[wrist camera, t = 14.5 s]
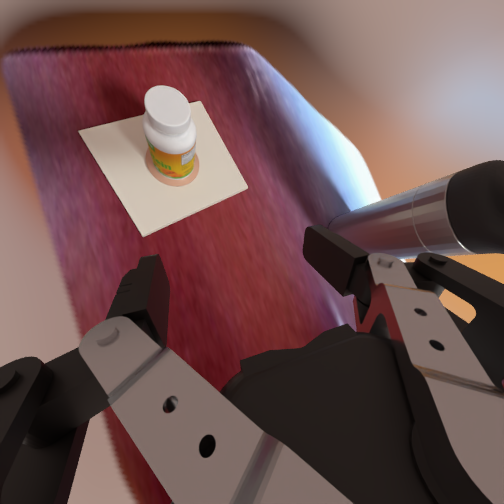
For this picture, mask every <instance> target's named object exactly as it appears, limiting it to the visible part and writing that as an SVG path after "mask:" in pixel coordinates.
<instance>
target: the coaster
mask: <svg viewBox="0 0 504 504" xmlns="http://www.w3.org/2000/svg"><path fill="white" fill-rule="evenodd" d="M146 164H147V167H148V169H149V171H150V173H151V174H152V175H153V176H154V177H155V178H156V179H157V180H158V181H160V182H162V183H163V184H166V185H169V186H176V187H178V186H184V185H187V184H189V183H191V182H192V181H193V180H194V179H195V178H196V176H197V175H198V172H199V159H198V156H197V154H196V152H195V162H194V168H193V171H192V173H191V174H190V175H189V176H188V177H186V178H184V179H180V180H173V179H169V178H166V177H164V176H163V175H161V174H160V173H159V172H158V171H157V169H156V168H155V166H154V164H153V161H152V157H151V154H150V150H149V147H148V149H147V152H146Z"/></svg>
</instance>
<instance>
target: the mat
mask: <svg viewBox="0 0 504 504" xmlns="http://www.w3.org/2000/svg"><path fill="white" fill-rule="evenodd" d="M189 105H190V109H191V118H192V119H193V121H194V123H195V126H196V133H197V137H196V149H195V152H196V154H197V156H198V159H199V172H198V175H197V176H196V178H195V179H194V180H193V181H192V182H191V183H189V184H187V185H184V186H178V187H176V186H169V185H166V184H163V183H162V182H160V181H158V180H157V179H156V178H155V177H154V176H153V175H152V174H151V173H150V171H149V169H148V167H147V164H146V152H147V149H148V143H147V140H146V137H145V133H144V130H143V124H142V120H143V115H141V116H137V117H132V118H128V119H124V120H120V121H116V122H112V123H108V124H104V125H100V126H96V127H92V128H88V129H84V130H80V131H78V132H79V134H80V135H81V137H82V139H83V140H84V142H85V143H86V145H87V147H88V148H89V150H90V152H91V153H92V155H93V156H94V158H95V160H96V161H97V163H98V165H99V166H100V168H101V169H102V171H103V173H104V174H105V176H106V178H107V179H108V181H109V182H110V184H111V186H112V187H113V189H114V191H115V192H116V194H117V195H118V197H119V199H120V200H121V202H122V204H123V205H124V207H125V208H126V210H127V212H128V213H129V215H130V217H131V218H132V220H133V221H134V223H135V225H136V226H137V228H138V230H139V231H140V233H141V234H142V236H143V237H144V236H147V235H149V234H151V233H153V232H155V231H157V230H160V229H162V228H164V227H166V226H168V225H170V224H173V223H175V222H177V221H179V220H181V219H183V218H185V217H188V216H190V215H192V214H194V213H196V212H198V211H201V210H203V209H205V208H207V207H209V206H211V205H214V204H216V203H218V202H220V201H222V200H224V199H227V198H229V197H231V196H233V195H235V194H237V193H240V192H242V191H244V190H246V189H247V188H248V186H247V184H246V183H245V181H244V179H243V177H242V175H241V174H240V172H239V170H238V168H237V166H236V165H235V163H234V161H233V159H232V157H231V155H230V154H229V152H228V150H227V148H226V146H225V145H224V143H223V141H222V139H221V137H220V136H219V134H218V132H217V130H216V128H215V127H214V125H213V123H212V121H211V119H210V117H209V116H208V114H207V112H206V110H205V108H204V107H203V105H202V103H201V101H197V102H193V103H189Z"/></svg>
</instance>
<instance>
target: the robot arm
mask: <svg viewBox="0 0 504 504" xmlns="http://www.w3.org/2000/svg"><path fill="white" fill-rule="evenodd" d="M487 253H501V254H504V161H501V160H495V161H488V162H485V163H481V164H478V165H475V166H473V167H470V168H467V169H464V170H462V171H459V172H456V173H454V174H451V175H449V176H446V177H443V178H441V179H438V180H435V181H432V182H429V183H427V184H424V185H422V186H419V187H416V188H413V189H411V190H408V191H405V192H403V193H400V194H397V195H394V196H392V197H389V198H386V199H384V200H381V201H378V202H375V203H373V204H370V205H367V206H365V207H362V208H359V209H356V210H354V211H351V212H348V213H345V214H343V215H340V216H337V217H336V218H334V219H333V220H332V221H331V223H330V225H329V227H328V229H327V228H325V227H323V226H322V225H315V226H309V227H307V228H306V230H305V236H304V244H303V256H304V258H305V260H306V261H307V262H308V263H309V264H310V265H311V266H312V267H313V268H314V269H315V270H316V271H317V272H318V273H319V274H320V275H321V276H322V277H323V278H324V279H326V280H327V281H328V282H329V283H330V284H331V285H332V286H333V287H334V288H335V289H336V290H337V291H338V292H339V293H340V294H341V295H342V296H343V297H344V296H347V295H351V294H354V295H355V296H354V299H353V305H354V313H355V320H356V328H357V332H355V331H354V330H353V329H352V328H351V327H350V326H349V324H345V325H342V326H339V327H336V328H333V329H330V330H327V331H324V332H323V333H322V334H320V335H319V336H318V337H316V338H315V339H314V340H312V341H311V342H310V343H308V344H307V345H306V346H304V347H302V348H296V349H282V350H269V351H266V352H263V353H261V354H258V355H255V356H252V357H249V358H246V359H243V360H240V365H241V371H240V372H239V373H237V374H236V375H235V376H234V377H232V378H231V379H230V380H229V381H228V382H227V384H226V385H225V386H224V387H223V388H222V390H221V391H220V393H219V392H218V391H217V390H216V389H215V388H214V387H213V386H212V385H210V384H209V383H208V382H207V381H206V380H205V379H204V378H202V377H201V376H200V375H199V374H198V373H197V372H196V371H195V370H193V369H192V368H191V367H190V366H189V365H188V364H187V363H185V362H184V361H183V360H182V359H181V358H180V357H179V356H178V355H176V354H175V353H174V352H173V351H172V350H171V349H169V348H168V347H166V343H167V328H168V313H169V298H170V285H169V281H168V277H167V275H166V272H165V269H164V266H163V263H162V261H161V258H160V256H159V254H156V255H150V256H145V257H141V258H140V260H139V264H138V267H137V269H132V270H130V271H129V272H128V273H127V274H126V275H125V276H124V277H123V278H122V280H121V283H120V285H119V288H118V290H117V295H115V297H114V300H113V302H112V305H111V307H110V310H109V312H108V315H107V317H106V320H105V321H103V322H101V323H99V324H97V325H96V326H95V327H93V328H92V329H91V330H90V331H89V332H88V333H87V334H86V335H85V336H84V337H83V339H82V340H81V342H80V344H79V347H78V348H76V349H74V350H72V351H70V352H68V353H66V354H64V355H62V356H60V357H58V358H55V359H54V360H52V361H49V362H47V363H45V364H44V363H43V362H42V361H41V360H40V359H38V358H37V357H25V358H21V359H18V360H15V361H12V362H10V363H8V364H6V365H4V366H2V367H0V504H67V502H68V498H69V495H70V491H71V487H72V483H73V480H74V476H75V472H76V469H77V465H78V461H79V457H80V454H81V450H82V446H83V442H84V439H85V435H86V431H87V427H88V423H89V420H90V418H92V417H93V416H95V415H96V414H98V413H100V412H101V411H103V410H104V409H106V408H107V407H109V406H111V407H112V409H113V410H114V412H115V413H116V415H117V416H118V418H119V420H120V421H121V423H122V424H123V426H124V427H125V429H126V430H127V432H128V433H129V435H130V436H131V438H132V439H133V441H134V443H135V444H136V446H137V447H138V449H139V450H140V452H141V453H142V455H143V456H144V458H145V459H146V461H147V462H148V464H149V466H150V467H151V469H152V470H153V472H154V473H155V475H156V476H157V478H158V479H159V481H160V482H161V484H162V485H163V487H164V489H165V490H166V492H167V493H168V495H169V496H170V498H171V499H172V503H171V504H504V284H502V283H500V282H498V281H496V280H494V279H492V278H490V277H487V276H486V275H484V274H481V273H479V272H477V271H475V270H473V269H471V268H469V267H467V266H465V265H462V264H461V263H459V262H456V261H454V260H452V259H450V258H448V257H446V256H455V255H471V254H487ZM409 258H416V260H415V262H408V263H403V262H402V261H401V260H400V259H409ZM444 289H447V290H448V291H450V292H452V293H453V294H455V295H457V296H458V297H460V298H461V299H463V300H465V301H466V302H468V303H469V304H471V305H472V306H473V307H474V309H475V310H476V316H475V318H474V319H473V320H472V321H471V322H470V323H469V324H468V323H467V322H466V321H464V320H462V319H461V318H460V317H458V316H457V315H455V314H454V313H453V312H451V311H450V310H448V309H447V308H445V307H444V306H443V305H442V303H441V301H440V300H439V296H440V295H441V294H442V292H443V291H444Z"/></svg>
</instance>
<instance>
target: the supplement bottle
mask: <svg viewBox="0 0 504 504" xmlns="http://www.w3.org/2000/svg"><path fill="white" fill-rule="evenodd" d="M144 103H145V108H146V111H145V113H144V115H143V120H142V124H143V130H144V133H145V137H146V140H147V143H148V147H149V150H150V154H151V157H152V161H153V164H154V166H155V168H156V169H157V171H158V172H159V173H160V174H161V175H163V176H164V177H166V178H169V179H173V180H180V179H184V178H186V177H188V176H189V175H190V174H191V173H192V171H193V168H194V162H195V149H196V137H197V133H196V126H195V123H194V121H193V119H192V118H191V109H190V105H189V103H188V101H187V99H186V98H185V96H184V95H183V94H182V93H180V92H179V91H178V90H176V89H174V88H172V87H169V86H162V85H161V86H155V87H153V88H151V89H150V90H149V91H148V92H147V93H146V95H145V100H144Z"/></svg>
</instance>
